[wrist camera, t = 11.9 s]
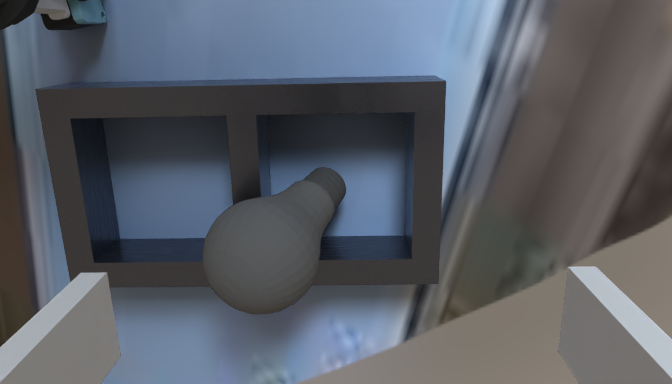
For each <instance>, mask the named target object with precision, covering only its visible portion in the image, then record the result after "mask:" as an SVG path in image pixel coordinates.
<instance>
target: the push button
mask: <svg viewBox="0 0 672 384" xmlns="http://www.w3.org/2000/svg"><path fill="white" fill-rule="evenodd" d="M33 13H41V16H42V19H43V22H44V25H45V27H46V28H47V29H49V30H73V29H77V28H82V27H87V26H91V25H96V24H101V23H106V22H107V18H106V14H105V11H104V9H103V6H102V3H101V0H0V30H1V29H4V28H6V27H8V26H10V25H15V24H17V23H19V22H21V21H22V20H24V19H25V18H27V17H28V16H30V15H31V14H33Z"/></svg>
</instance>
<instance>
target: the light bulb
mask: <svg viewBox="0 0 672 384" xmlns="http://www.w3.org/2000/svg"><path fill="white" fill-rule="evenodd" d="M345 194H346V186H345V183H344V180H343V179H342V177H341V176H340V175H339V174H338V173H337V172H336V171H334V170H332V169H330V168H325V167H320V168H317V169H316V170H314V171H313V172H311V173H310V174H309V175H308V176H307V177H306V178H305V179H303V180H301V181H298V182H295V183H294V184H292V185H291V186H290V187H289V188H288V189H286V190H284V191H283V192H281V193H279V194H276V195H273V196H267V197H258V198H253V199H248V200H244V201H242V202H239V203H237V204H235V205H233V206H231V207H229V208H228V209H227V210H225V211H224V212H223V213H222V214H221V215H220V216H219V217H218V218H217V219H216V220H215V222H214V223H213V225H212V226H211V228H210V230H209V232H208V234H207V236H206V238H205V243H204V249H203V267H204V271H205V274H206V277H207V280H208V282H209V284H210V286H211V287H212V289H213V290H214V292H215V293H216V294H217V295H218V296H219V297H220V298H221V299H222V300H223V301H224V302H226V303H227V304H228V305H230V306H232V307H233V308H235V309H237V310H240V311H244V312H247V313H251V314H268V313H274V312H278V311H281V310H283V309H285V308H287V307H289V306H291V305H293V304H294V303H295V302H297V301H298V300H299V299H300V298H301V297H302V296H303V295H304V294H305V293H306V292H307V291H308V289H309V288H310V286H311V284H312V283H313V280H314V278H315V276H316V273H317V270H318V264H319V257H320V244H321V238H322V234H323V232H324V230H325V228H326V226H327V225H328V224H329V222H330V221H331V219H332V217H333V215H334V210H335V209H336V208H337V206H338V205H339V204H340V202H341V200H342V199H343V198H344V196H345Z"/></svg>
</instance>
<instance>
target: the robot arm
mask: <svg viewBox="0 0 672 384" xmlns="http://www.w3.org/2000/svg"><path fill="white" fill-rule="evenodd" d="M558 352H559V354H560V355H561V357H562V358H563V360H564V361H565V363H566V364H567V366H568V368H569V369H570V371H571V372H572V374H573V375H574V377H575V378H576V380H577V381H578V383H579V384H672V339H671V338H670V337H669V336H668V335H667V334H666V333H665V332H664V331H662V330H661V329H660V328H659V327H658V326H657V325H656V324H655V323H654V322H653V321H652V320H651V319H650V318H649V317H648V316H647V315H646V314H645V313H644V312H643V311H641V310H640V309H639V308H638V307H637V306H636V305H635V304H634V303H633V302H632V301H631V300H630V299H629V298H628V297H627V296H626V295H625V294H624V293H623V292H622V291H621V290H620V289H618V287H616V286H615V285H614V284H613V283H612V282H611V281H610V280H609V279H608V278H607V277H606V276H605V275H604V274H603V273H602V272H601V271H600V270H599V269H598V268H596V267H568V272H567V281H566V289H565V298H564V306H563V314H562V322H561V331H560V339H559V348H558ZM120 356H121V354H120V348H119V342H118V336H117V330H116V324H115V318H114V312H113V305H112V299H111V293H110V287H109V281H108V275H107V272H101V273H80V274H79V275H78V276H77V277H76V278H74V279H73V280H72V281H71V282H70V283H69V284H68V285H67V286H66V287H65V288H64V289H63V290H62V291H60V292H59V293H58V294H57V295H56V296H55V297H54V298H53V299H52V300H51V301H50V302H49V303H48V304H46V305H45V306H44V307H43V308H42V309H41V310H40V311H39V312H38V313H37V314H36V315H35V316H33V317H32V318H31V319H30V320H29V321H28V322H27V323H26V324H25V325H24V326H23V327H22V328H21V329H19V330H18V331H17V332H16V333H15V334H14V335H13V336H12V337H11V338H10V339H9V340H8V341H6V342H5V343H4V344H3V345H2V346H1V347H0V384H101V383H102V382H103V380H104V379H105V377H106V376H107V374H108V373H109V372H110V370H111V369H112V367H113V366H114V364H115V363H116V361H117V360H118V358H119V357H120Z"/></svg>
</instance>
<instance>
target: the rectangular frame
mask: <svg viewBox="0 0 672 384" xmlns="http://www.w3.org/2000/svg"><path fill="white" fill-rule="evenodd" d="M36 95H37V100H38V106H39V111H40V117H41V122H42V128H43V133H44V139H45V144H46V150H47V155H48V161H49V166H50V172H51V177H52V183H53V188H54V194H55V199H56V205H57V210H58V216H59V221H60V227H61V232H62V238H63V243H64V249H65V254H66V260H67V265H68V271H69V276H70V282H71V281H72V280H73V279H74V278H76V277H77V276H78V275H79V274H80V273H101V272H107V275H108V281H109V287H198V286H210V284H209V282H208V280H207V277H206V274H205V271H204V267H203V249H204V243H205V238H185V239H120V236H119V230H118V223H117V216H116V209H115V203H114V196H113V189H112V183H111V176H110V169H109V162H108V156H107V149H106V142H105V135H104V129H103V122H102V118H127V117H181V116H226V118H227V131H228V143H229V155H230V168H231V180H232V193H233V205H235V204H237V203H239V202H242V201H244V200H248V199H253V198H258V197H267V196H271V183H270V166H269V149H268V132H267V116H266V115H288V114H342V113H396V112H407V141H406V199H405V236H339V237H322V238H321V244H320V257H319V264H318V270H317V273H316V276H315V278H314V280H313V283H312V284H311V285H384V284H438V281H439V255H440V228H441V202H442V175H443V149H444V122H445V96H446V81H445V80H443V79H441V78H439V77H437V76H391V77H342V78H292V79H243V80H193V81H144V82H95V83H68V84H62V85H56V86H51V87H45V88H40V89H36Z"/></svg>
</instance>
